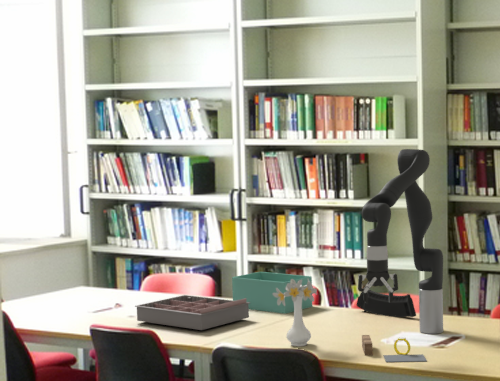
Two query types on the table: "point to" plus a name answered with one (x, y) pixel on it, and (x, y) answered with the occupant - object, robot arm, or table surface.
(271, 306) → the box
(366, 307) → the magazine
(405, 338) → the watch
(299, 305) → the flower vase
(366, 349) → the walnut slat
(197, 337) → the table surface
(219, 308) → the organizer tray
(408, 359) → the felt mat
